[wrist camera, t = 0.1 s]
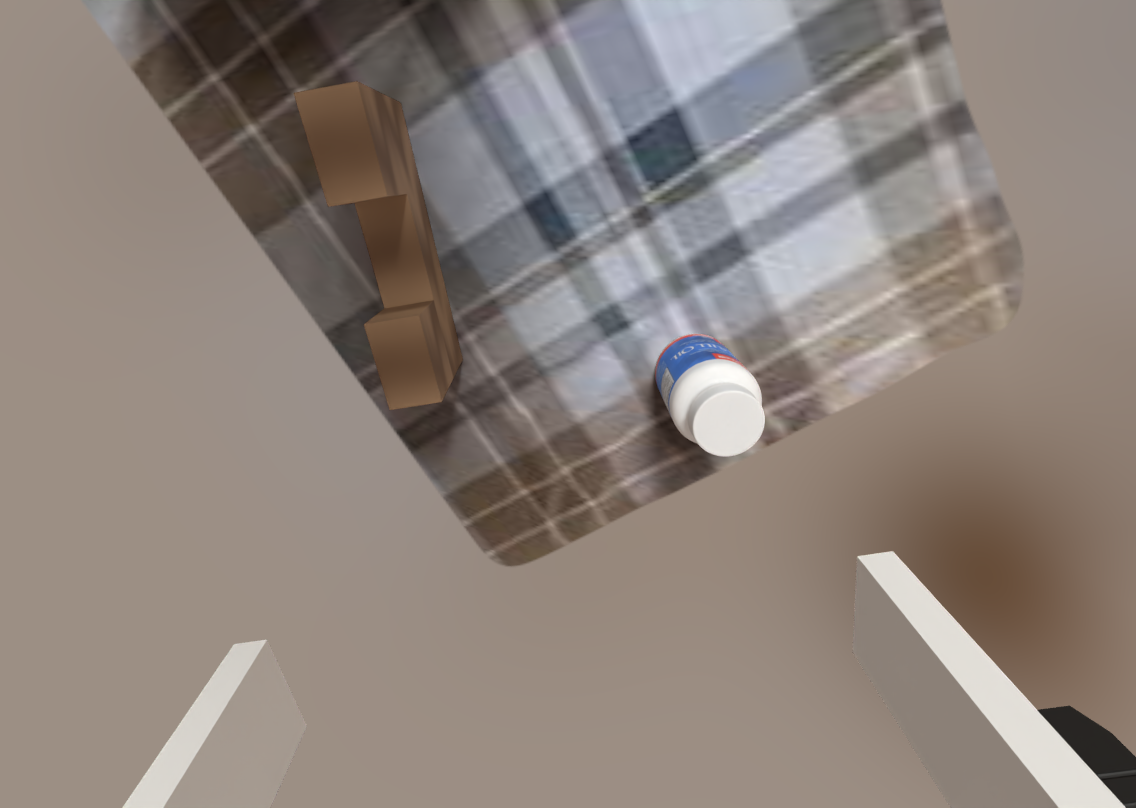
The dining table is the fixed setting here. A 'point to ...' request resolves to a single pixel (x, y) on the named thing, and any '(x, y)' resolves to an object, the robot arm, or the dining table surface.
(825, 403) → the dining table surface
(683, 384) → the pill bottle
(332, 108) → the brown u-shaped block
